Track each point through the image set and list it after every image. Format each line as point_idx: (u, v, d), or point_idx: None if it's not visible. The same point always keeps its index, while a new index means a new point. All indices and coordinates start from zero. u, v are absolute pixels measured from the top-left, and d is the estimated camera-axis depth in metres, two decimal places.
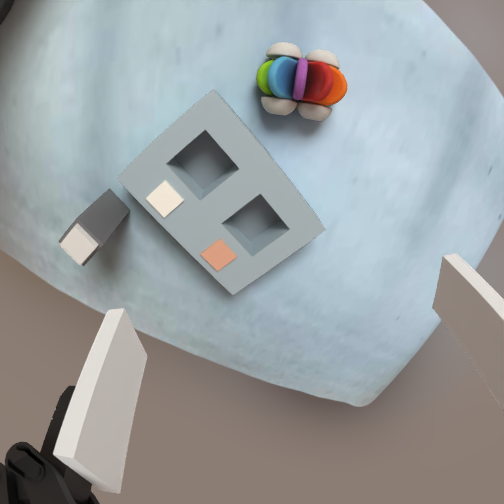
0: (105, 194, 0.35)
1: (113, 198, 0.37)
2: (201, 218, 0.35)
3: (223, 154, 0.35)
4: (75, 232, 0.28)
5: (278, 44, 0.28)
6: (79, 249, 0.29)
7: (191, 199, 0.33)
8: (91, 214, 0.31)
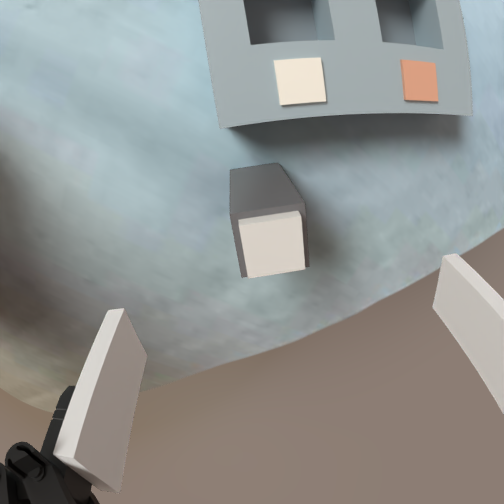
0: (232, 175, 0.24)
1: (246, 170, 0.24)
2: (360, 57, 0.17)
3: None
4: (249, 232, 0.16)
5: None
6: (281, 248, 0.17)
7: (324, 48, 0.17)
8: (242, 197, 0.19)
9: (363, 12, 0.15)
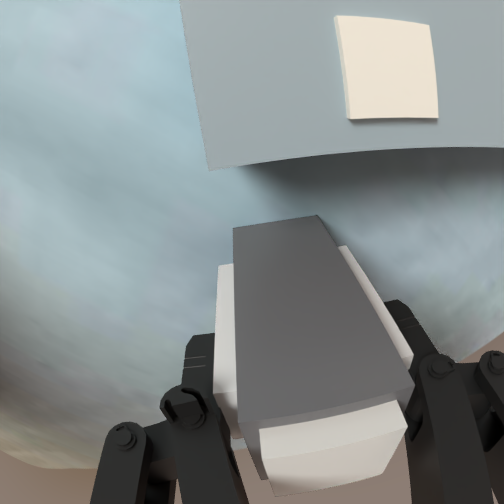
0: (238, 246, 0.13)
1: (263, 233, 0.14)
2: (486, 40, 0.06)
3: None
4: (285, 463, 0.06)
5: None
6: (348, 468, 0.06)
7: (431, 10, 0.06)
8: (264, 341, 0.08)
9: None
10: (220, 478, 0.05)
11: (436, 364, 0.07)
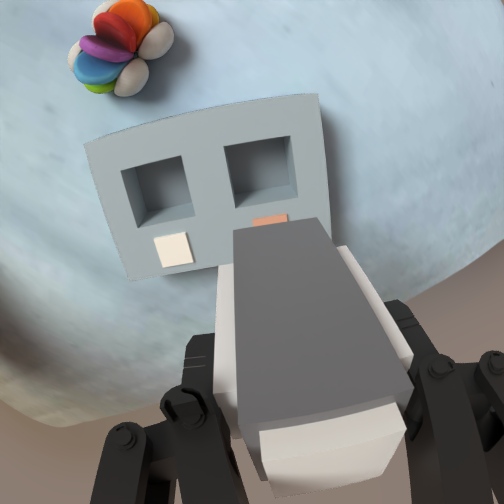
0: (238, 248, 0.13)
1: (263, 235, 0.14)
2: (217, 225, 0.28)
3: (171, 160, 0.28)
4: (285, 465, 0.06)
5: (68, 59, 0.21)
6: (348, 469, 0.06)
7: (188, 224, 0.27)
8: (264, 344, 0.08)
9: (217, 186, 0.26)
10: (220, 478, 0.05)
11: (436, 364, 0.07)
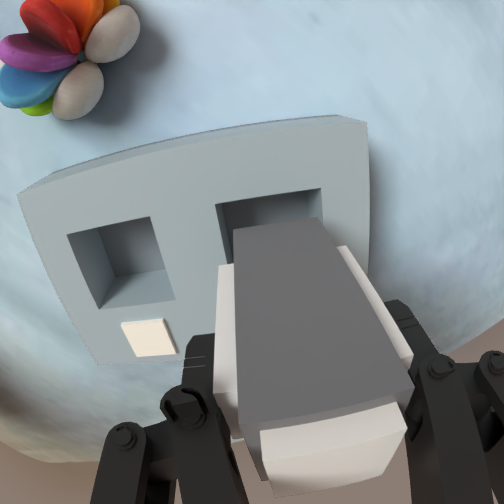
0: (239, 248, 0.13)
1: (263, 234, 0.14)
2: (206, 312, 0.19)
3: None
4: (285, 465, 0.06)
5: None
6: (349, 469, 0.06)
7: (166, 309, 0.19)
8: (264, 343, 0.08)
9: (206, 262, 0.17)
10: (220, 478, 0.05)
11: (436, 364, 0.07)
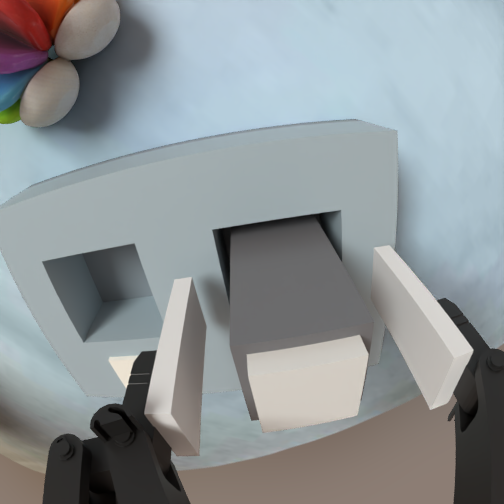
0: None
1: None
2: None
3: None
4: (267, 384, 0.08)
5: None
6: (324, 399, 0.08)
7: None
8: (253, 290, 0.10)
9: (203, 296, 0.15)
10: (154, 492, 0.05)
11: (494, 358, 0.06)
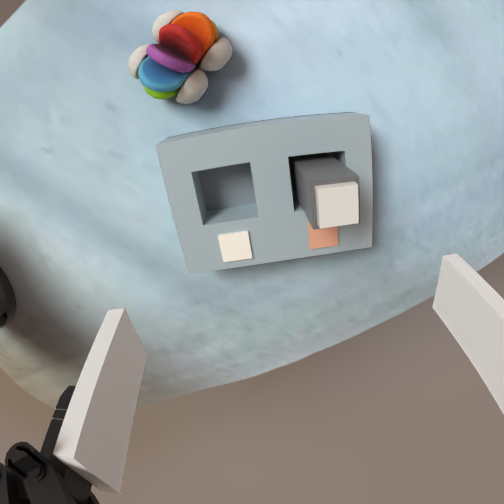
0: (295, 159, 0.30)
1: (304, 156, 0.31)
2: (276, 225, 0.31)
3: (233, 164, 0.32)
4: (323, 194, 0.23)
5: (129, 63, 0.25)
6: (344, 206, 0.23)
7: (251, 223, 0.31)
8: (312, 172, 0.25)
9: (280, 191, 0.30)
10: None
11: None
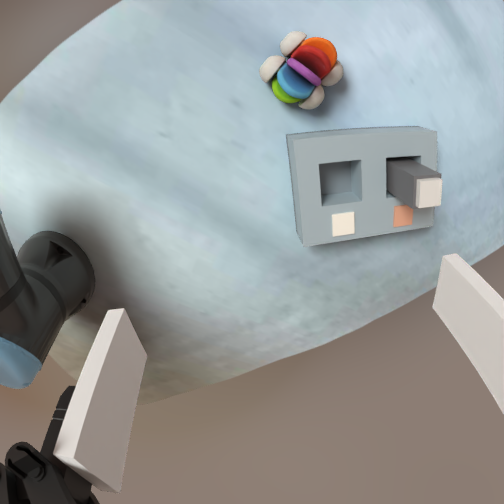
0: None
1: (389, 157, 0.39)
2: (373, 208, 0.39)
3: None
4: (423, 184, 0.31)
5: (263, 69, 0.32)
6: (433, 194, 0.31)
7: (356, 206, 0.39)
8: (409, 170, 0.33)
9: (378, 183, 0.37)
10: None
11: None
